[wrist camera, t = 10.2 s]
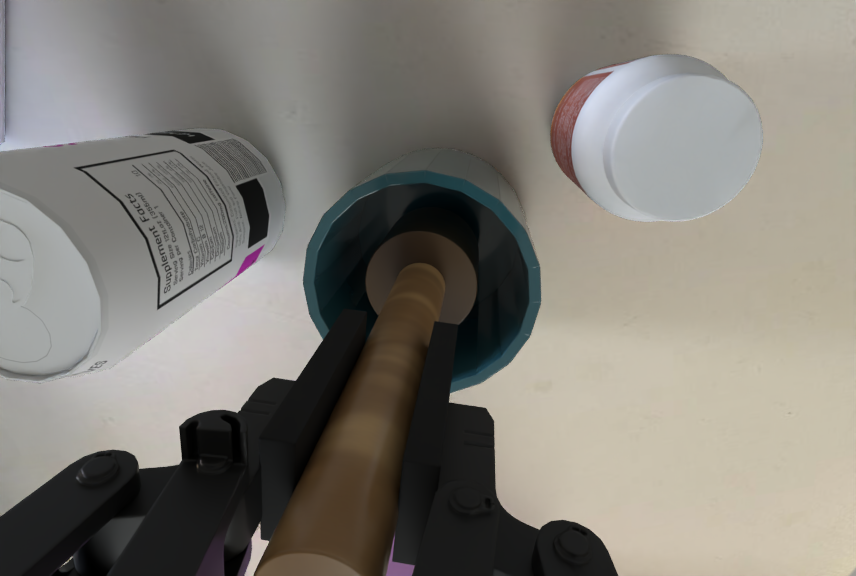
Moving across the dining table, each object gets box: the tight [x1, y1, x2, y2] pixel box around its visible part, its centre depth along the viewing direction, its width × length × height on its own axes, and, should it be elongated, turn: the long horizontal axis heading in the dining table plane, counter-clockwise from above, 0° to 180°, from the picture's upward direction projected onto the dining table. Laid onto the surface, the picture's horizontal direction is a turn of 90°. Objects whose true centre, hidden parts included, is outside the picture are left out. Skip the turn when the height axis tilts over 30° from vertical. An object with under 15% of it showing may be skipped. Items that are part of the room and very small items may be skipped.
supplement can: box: [0, 128, 286, 383], centre depth 23 cm, size 8×8×15 cm
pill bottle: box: [550, 54, 763, 222], centre depth 21 cm, size 6×6×11 cm
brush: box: [254, 207, 479, 576], centre depth 18 cm, size 5×5×20 cm
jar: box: [303, 148, 541, 393], centre depth 25 cm, size 10×10×9 cm
